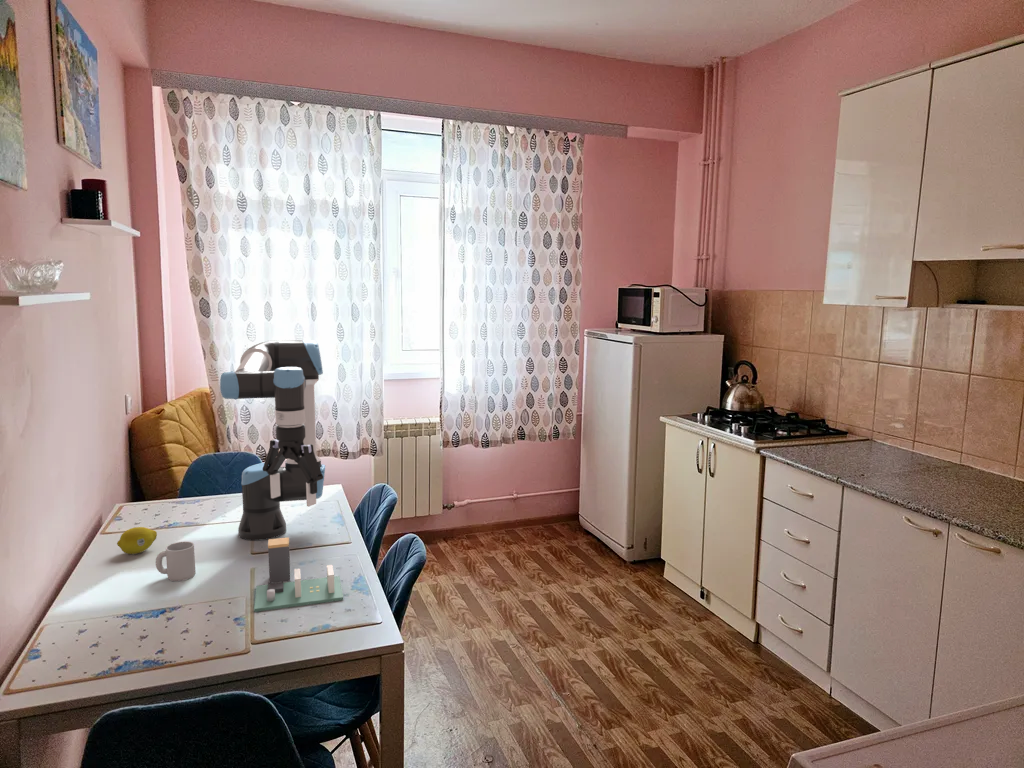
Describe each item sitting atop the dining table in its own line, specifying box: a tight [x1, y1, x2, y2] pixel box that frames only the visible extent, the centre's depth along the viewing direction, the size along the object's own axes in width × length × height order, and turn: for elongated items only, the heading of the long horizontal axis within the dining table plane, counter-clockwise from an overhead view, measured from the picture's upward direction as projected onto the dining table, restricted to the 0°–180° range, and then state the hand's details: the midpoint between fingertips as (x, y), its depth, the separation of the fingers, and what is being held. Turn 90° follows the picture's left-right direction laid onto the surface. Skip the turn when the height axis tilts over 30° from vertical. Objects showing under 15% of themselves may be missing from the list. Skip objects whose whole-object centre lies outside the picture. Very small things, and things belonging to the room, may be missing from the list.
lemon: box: [116, 526, 158, 555], centre depth 205 cm, size 11×8×8 cm
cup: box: [155, 541, 196, 582], centre depth 187 cm, size 7×10×9 cm
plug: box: [267, 536, 291, 584], centre depth 187 cm, size 5×6×11 cm
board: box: [253, 564, 344, 613], centre depth 177 cm, size 14×22×6 cm, turn 109°
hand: (293, 501), depth 181 cm, fingers open, 13 cm apart
